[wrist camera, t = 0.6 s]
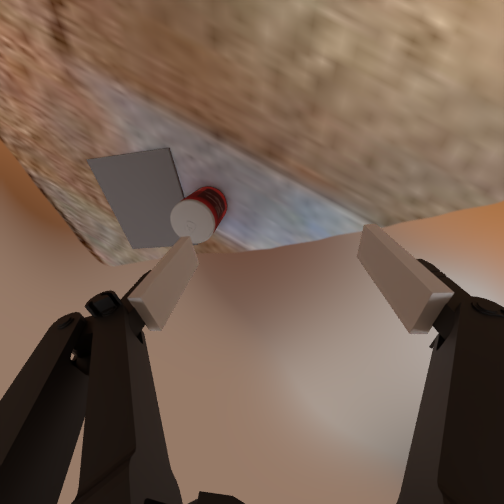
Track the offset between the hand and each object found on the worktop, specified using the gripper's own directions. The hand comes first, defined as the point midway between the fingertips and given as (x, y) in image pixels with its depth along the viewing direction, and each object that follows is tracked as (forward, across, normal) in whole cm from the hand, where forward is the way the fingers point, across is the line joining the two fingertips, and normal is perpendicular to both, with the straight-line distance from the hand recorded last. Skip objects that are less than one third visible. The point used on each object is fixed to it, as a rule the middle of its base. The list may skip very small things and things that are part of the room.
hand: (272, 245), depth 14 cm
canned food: (+26, -14, -4) cm, 30 cm away
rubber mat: (+26, -28, -3) cm, 39 cm away
